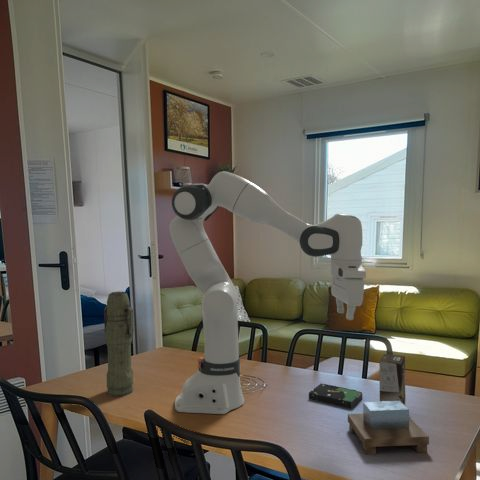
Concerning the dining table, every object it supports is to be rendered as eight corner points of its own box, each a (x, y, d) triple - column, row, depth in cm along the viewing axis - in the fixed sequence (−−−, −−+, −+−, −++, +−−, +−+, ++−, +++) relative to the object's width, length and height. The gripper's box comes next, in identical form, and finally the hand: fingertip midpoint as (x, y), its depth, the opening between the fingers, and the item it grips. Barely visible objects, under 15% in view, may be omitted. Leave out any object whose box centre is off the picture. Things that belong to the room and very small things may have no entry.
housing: (370, 430, 106) (370, 410, 106) (363, 420, 111) (363, 402, 111) (409, 428, 106) (408, 409, 106) (399, 419, 112) (399, 400, 112)
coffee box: (402, 419, 121) (401, 363, 120) (379, 414, 124) (378, 361, 124) (406, 407, 129) (405, 355, 128) (384, 403, 132) (384, 353, 132)
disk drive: (308, 401, 136) (352, 410, 128) (308, 392, 136) (352, 401, 128) (320, 390, 145) (363, 399, 137) (320, 382, 145) (362, 390, 137)
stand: (365, 455, 102) (365, 438, 102) (347, 428, 116) (347, 414, 116) (429, 452, 102) (428, 436, 102) (404, 426, 116) (404, 412, 116)
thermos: (113, 385, 152) (111, 290, 151) (141, 388, 148) (139, 291, 147) (97, 394, 143) (95, 293, 143) (127, 398, 139) (124, 294, 139)
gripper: (326, 266, 132) (325, 309, 132) (345, 272, 111) (343, 323, 112) (346, 266, 132) (345, 309, 132) (368, 272, 112) (367, 323, 112)
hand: (344, 316), depth 122 cm, fingers open, 8 cm apart
